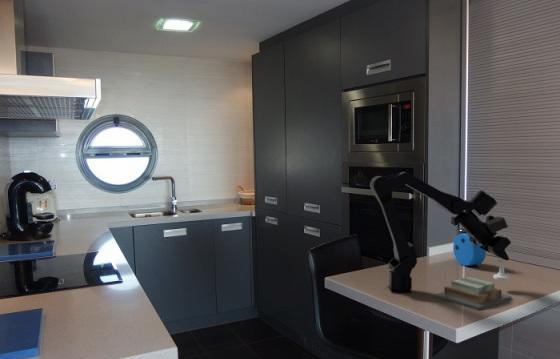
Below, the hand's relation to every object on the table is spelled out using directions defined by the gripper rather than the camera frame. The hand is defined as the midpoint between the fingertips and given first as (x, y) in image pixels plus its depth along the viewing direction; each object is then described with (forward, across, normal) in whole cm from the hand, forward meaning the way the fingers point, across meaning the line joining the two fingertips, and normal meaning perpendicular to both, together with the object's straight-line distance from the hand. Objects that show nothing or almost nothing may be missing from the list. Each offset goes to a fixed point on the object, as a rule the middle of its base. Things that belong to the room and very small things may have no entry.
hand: (506, 258), depth 145 cm
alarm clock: (+9, +34, +6) cm, 36 cm away
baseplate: (-2, -8, +18) cm, 20 cm away
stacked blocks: (-2, -8, +18) cm, 20 cm away
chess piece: (+4, 0, +6) cm, 7 cm away
